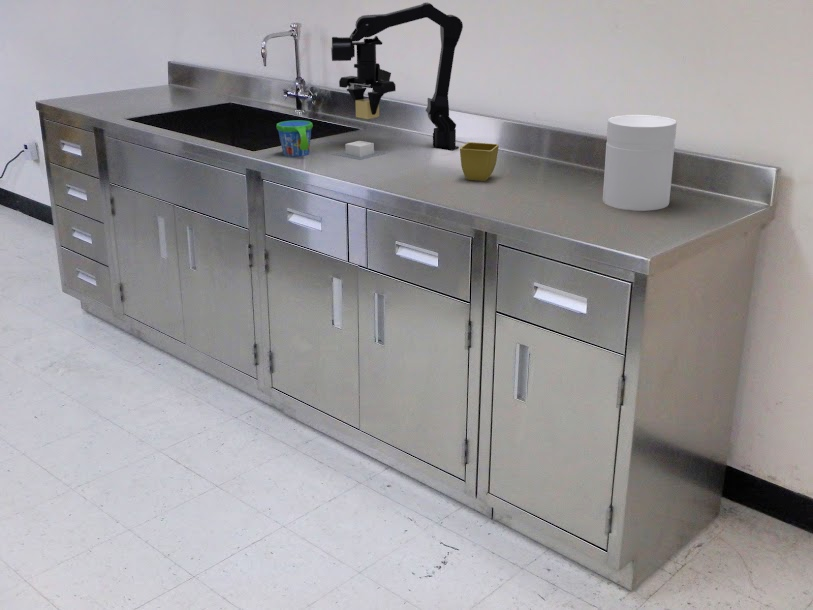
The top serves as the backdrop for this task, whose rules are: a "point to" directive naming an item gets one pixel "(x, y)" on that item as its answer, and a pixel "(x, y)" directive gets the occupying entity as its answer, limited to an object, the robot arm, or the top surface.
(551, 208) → the top surface
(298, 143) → the snack cup
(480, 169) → the flower pot
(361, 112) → the ochre brick
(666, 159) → the canister
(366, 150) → the white brick
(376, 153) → the baseplate
